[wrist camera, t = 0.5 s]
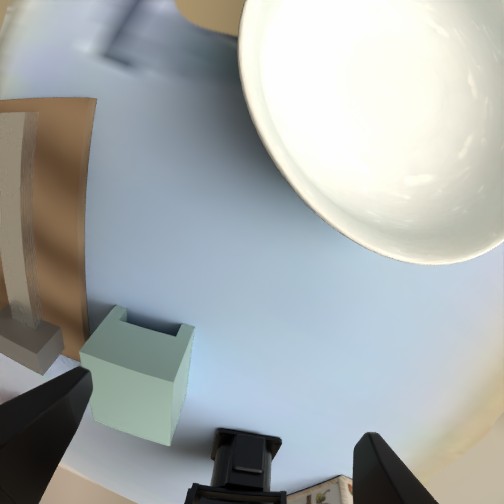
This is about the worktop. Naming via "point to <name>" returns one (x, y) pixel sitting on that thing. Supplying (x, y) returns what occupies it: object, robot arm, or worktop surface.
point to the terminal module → (137, 376)
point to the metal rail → (19, 216)
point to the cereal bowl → (384, 117)
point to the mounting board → (59, 212)
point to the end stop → (30, 342)
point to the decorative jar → (325, 493)
